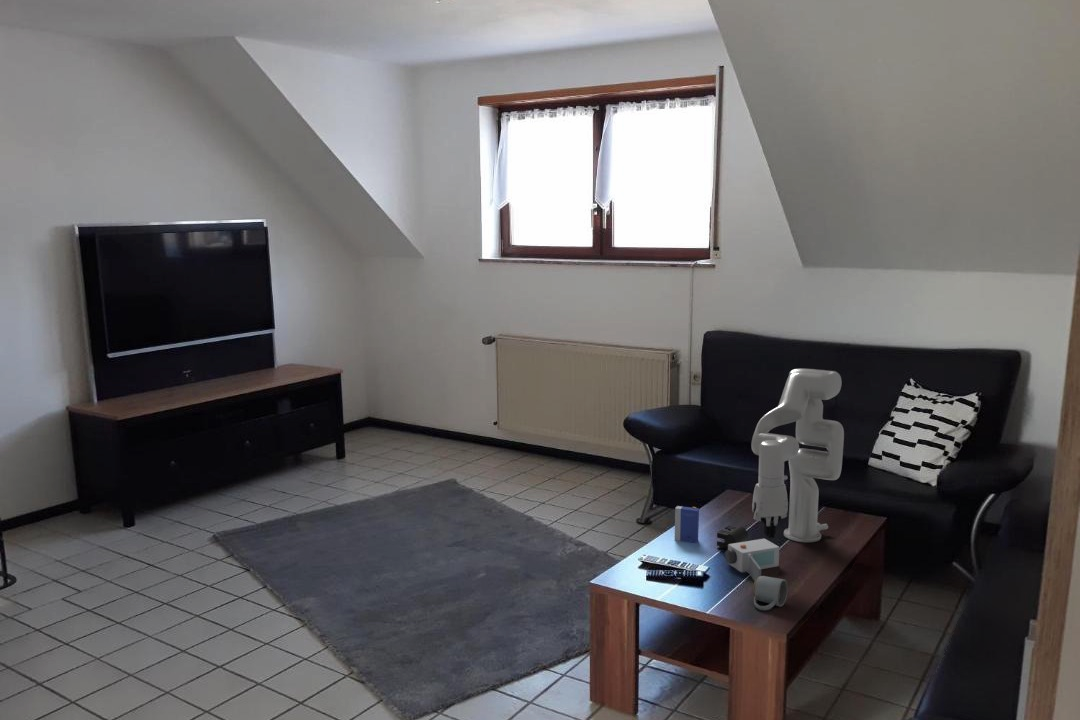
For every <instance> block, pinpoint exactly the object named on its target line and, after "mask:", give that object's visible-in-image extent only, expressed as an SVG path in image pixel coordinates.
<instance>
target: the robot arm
mask: <svg viewBox="0 0 1080 720" xmlns="http://www.w3.org/2000/svg"><path fill="white" fill-rule="evenodd" d="M841 388H842V377H841V374H840V373H838V372H837V371H836V370H825V369H815V368H794V369H792V370H790V371H789V373H788V377H787V379H786V381H785V385H784V388H783V390H782V394H781V397H780V399H779V402H778V405H777V406H776V407H775V408H773V409H771V410H770V411H768V412H766V414H764V415H763V416H762V417H761V418H760V419H759V421H758V422H757V424H756V426H755V430H754V432H753V435H752V439H751V445H750V446H751V451H752V452H753V454H754V455H756V456H758V481H757V482H758V483H756V484H754V485H755V486H754V490H753V496H752V504H751V505H752V507H751V508H752V509H751V511H752V513H753V514H754V515H753V517H752V518H753V520H754V521H757V522H762V523H763V525H764V527H763V532H764V535H765V536H766V537H767V538H769V539H775V534H776V526H778V523H779V522H780V520H782V519H785V518H787V517H788V528H785V529H784V531H783V536H784V537H785V538H787V539H789V540H791V541H794V542H799V543H816V542H819V541H820V540H821V539H822V534H821V530H822V531H823V530H827V529H829V525H828V524H827V523H822V524H821V523H820V522H818V513H819V512H818V511H819V493H820V492H819V490H820V489H819V487H818V484H817V482H816V480H815V479H819V480H820V479H821V480H827V481H836V480H838V479H839V478H840V476H841V473H842V468H843V467H842V466H843V456H844V455H843V454H844V442H845V440H844V439H845V431H844V430H845V429H844V427H843V425H842V424H841V422H839V421H837V420H831V419H824V418H823V417H824V416H823V414H824V404H823V401H826V400H828V401H829V400H830V399H832V398H834V397H836V396H838V394H840V391H841V390H842V389H841ZM822 400H823V401H822ZM794 422H795V437H794V436H792V435H786V434H777V433H772V432H771V433H770V431H771V430H773V429H775V428H776V427H779V426H784V425H787V424H791V423H794ZM800 445H804V446H811V447H812V446H813V447H819V448H826V450H827V451H824V450H823V451H822V450H818V449H809V448H803V447H802V448H800ZM787 461H788V466H789V467H788V468H789V475H790V476H789V477H790V479H789V478H788V475H785V462H787ZM788 479H789V480H790V481H789V483H790V487H789V489H790V490H789V499H788V492H787V486H786V484H785V481H787V480H788ZM788 500H789V502H788ZM788 507H789V508H788Z"/></svg>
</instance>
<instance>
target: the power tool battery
mask: <svg viewBox="0 0 1080 720" xmlns="http://www.w3.org/2000/svg"><path fill="white" fill-rule="evenodd" d="M724 529H725V530H722V529H721V530H719V531H717V533H716V538H717V539H721V540H724V541H720V540H717V541H716V546H717V551H721V552H724V553H725V552H726V551H727V550H728V544H733V543H739V542H746V541H747V540H748V539H749V538H748V537H749V534H748V531H747V529H746V528H745V527H744V526H743V525H739V526H737V527H736V526H732V525H726V526H725V527H724Z"/></svg>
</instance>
